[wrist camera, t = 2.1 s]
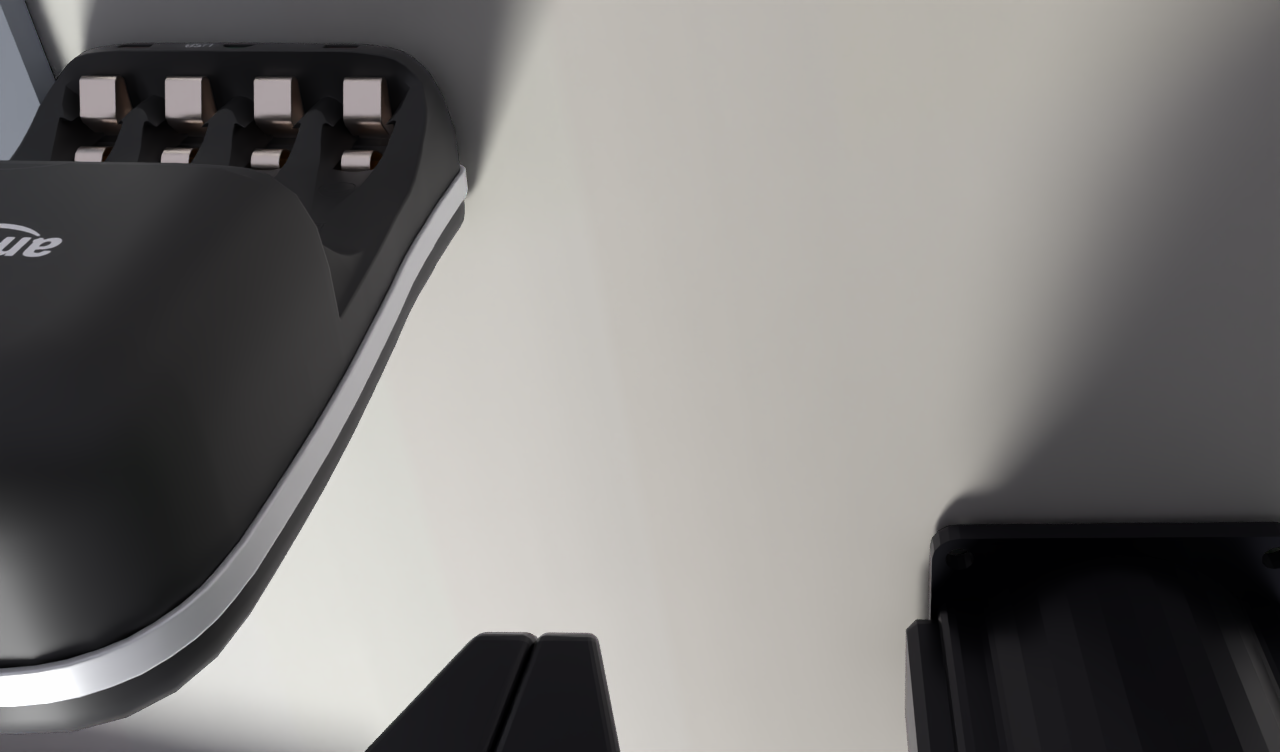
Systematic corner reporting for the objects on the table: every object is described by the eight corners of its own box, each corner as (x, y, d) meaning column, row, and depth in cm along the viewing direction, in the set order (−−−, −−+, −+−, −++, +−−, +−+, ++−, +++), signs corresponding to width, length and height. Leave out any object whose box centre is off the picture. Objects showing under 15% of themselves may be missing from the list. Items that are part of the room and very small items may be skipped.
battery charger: (460, -10, 18) (66, 427, 8) (487, 219, 20) (194, 777, 11) (31, -8, 19) (-765, 391, 9) (99, 211, 21) (-495, 721, 11)
